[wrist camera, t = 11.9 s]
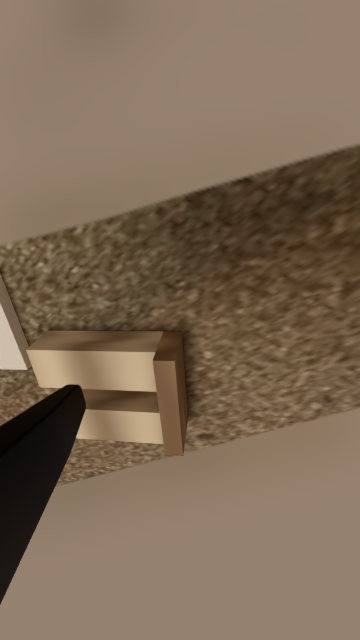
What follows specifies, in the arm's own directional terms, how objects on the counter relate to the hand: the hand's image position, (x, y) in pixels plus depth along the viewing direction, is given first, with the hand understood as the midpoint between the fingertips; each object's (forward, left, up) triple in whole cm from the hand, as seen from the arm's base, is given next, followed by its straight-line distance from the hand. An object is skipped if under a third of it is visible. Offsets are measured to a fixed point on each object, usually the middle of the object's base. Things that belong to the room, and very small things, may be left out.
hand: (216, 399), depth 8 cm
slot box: (0, +13, -12) cm, 18 cm away
